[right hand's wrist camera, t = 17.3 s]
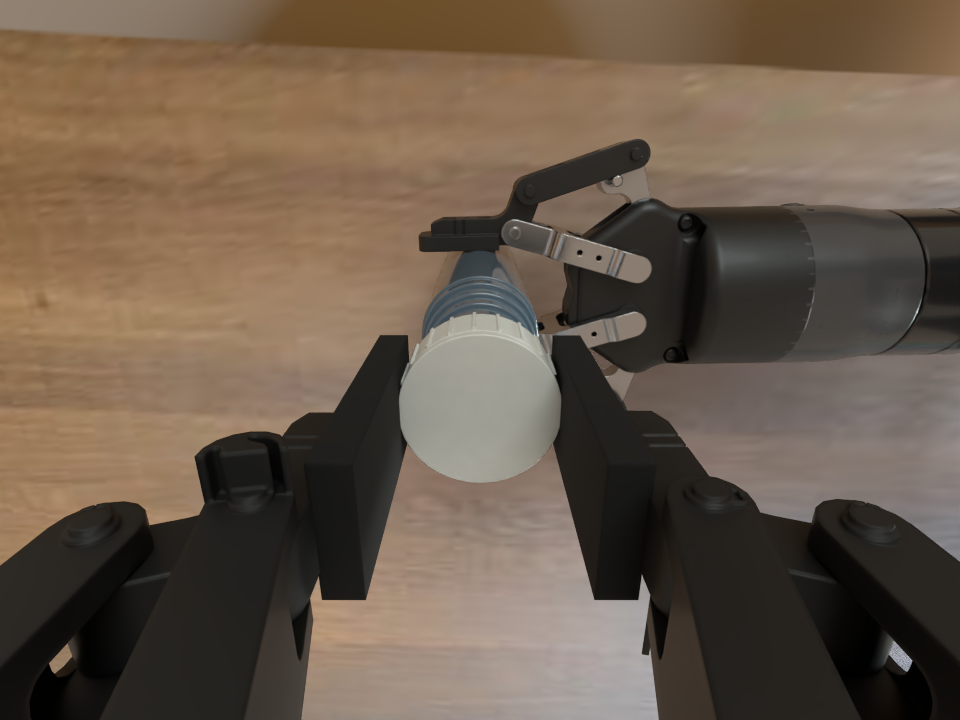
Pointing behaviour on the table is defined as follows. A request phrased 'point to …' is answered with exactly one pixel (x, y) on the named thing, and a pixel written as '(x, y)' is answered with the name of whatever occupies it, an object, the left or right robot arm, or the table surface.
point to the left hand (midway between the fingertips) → (425, 292)
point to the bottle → (480, 289)
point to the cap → (480, 399)
